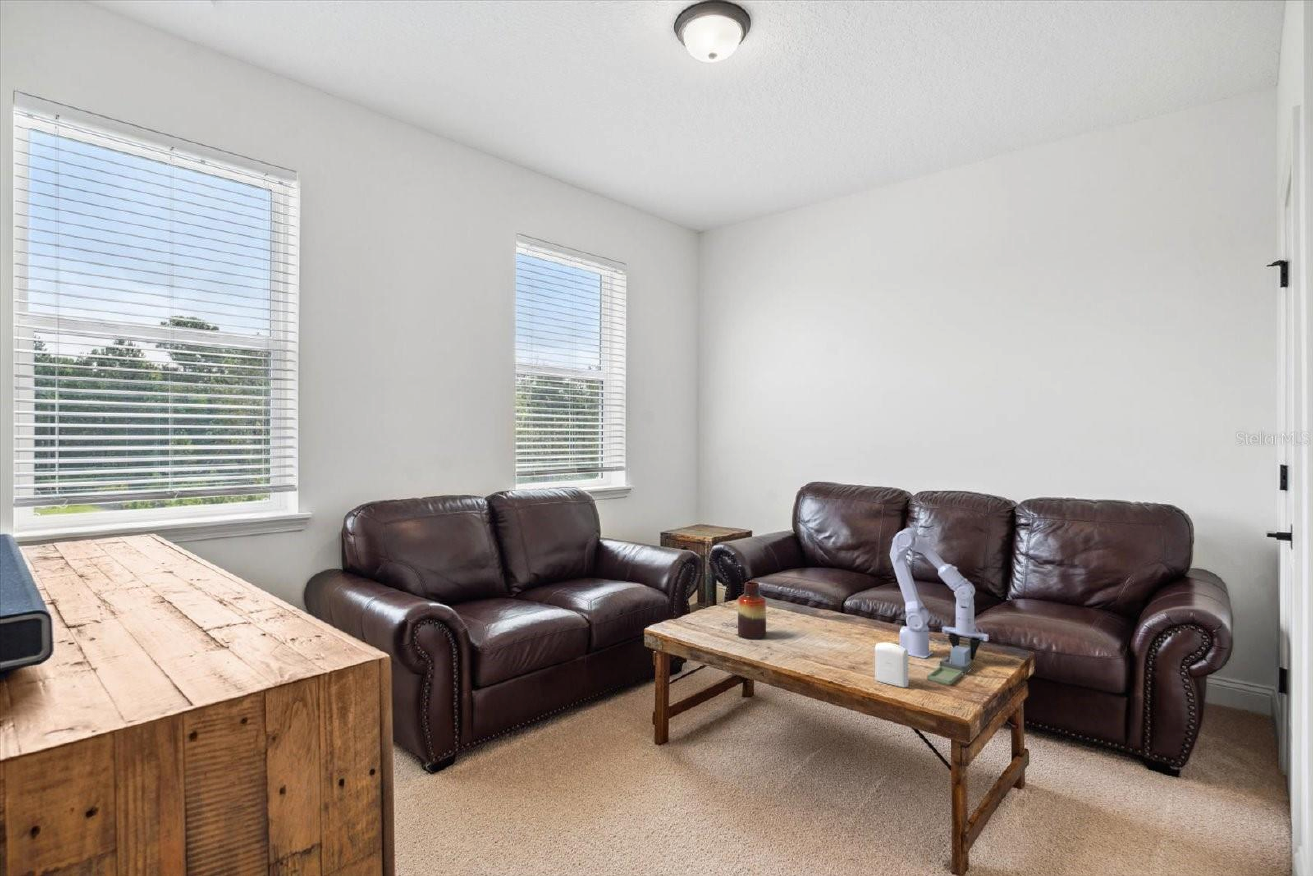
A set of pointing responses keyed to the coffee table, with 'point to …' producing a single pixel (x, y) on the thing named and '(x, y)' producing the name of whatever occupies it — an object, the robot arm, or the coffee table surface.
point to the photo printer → (891, 664)
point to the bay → (955, 665)
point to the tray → (944, 675)
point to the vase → (751, 613)
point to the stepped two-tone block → (960, 655)
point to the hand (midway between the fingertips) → (964, 657)
